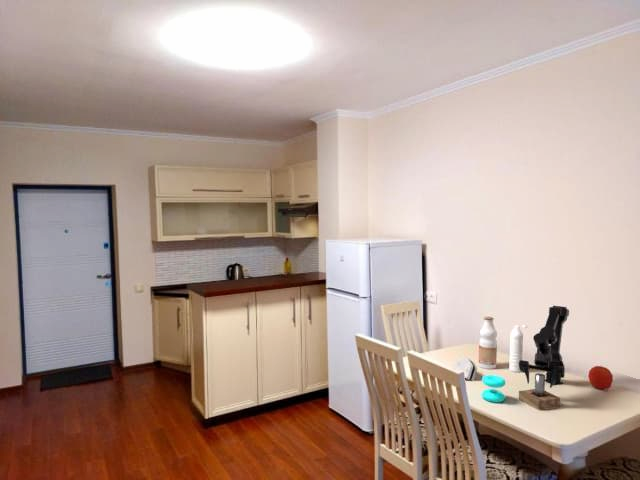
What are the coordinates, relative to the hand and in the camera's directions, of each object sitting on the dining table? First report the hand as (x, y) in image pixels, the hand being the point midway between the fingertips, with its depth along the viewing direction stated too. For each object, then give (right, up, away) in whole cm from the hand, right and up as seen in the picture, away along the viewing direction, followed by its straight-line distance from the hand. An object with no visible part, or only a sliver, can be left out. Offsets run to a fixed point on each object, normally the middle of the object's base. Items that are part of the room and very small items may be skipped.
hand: (539, 385), depth 206 cm
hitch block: (+1, -9, +2) cm, 9 cm away
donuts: (-19, -8, +6) cm, 21 cm away
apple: (+40, -8, +20) cm, 45 cm away
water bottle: (+10, -6, +45) cm, 47 cm away
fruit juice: (-5, -6, +51) cm, 52 cm away
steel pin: (+1, -9, +2) cm, 9 cm away
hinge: (-22, -7, +37) cm, 44 cm away
